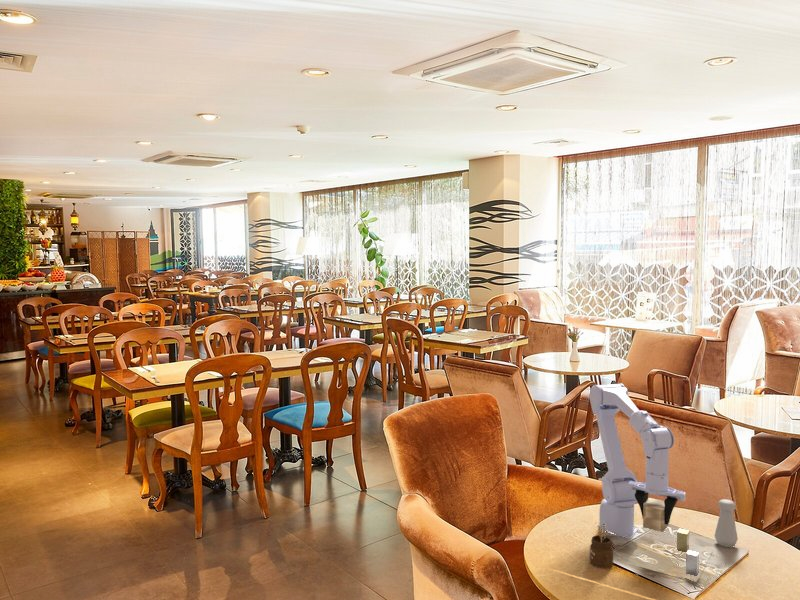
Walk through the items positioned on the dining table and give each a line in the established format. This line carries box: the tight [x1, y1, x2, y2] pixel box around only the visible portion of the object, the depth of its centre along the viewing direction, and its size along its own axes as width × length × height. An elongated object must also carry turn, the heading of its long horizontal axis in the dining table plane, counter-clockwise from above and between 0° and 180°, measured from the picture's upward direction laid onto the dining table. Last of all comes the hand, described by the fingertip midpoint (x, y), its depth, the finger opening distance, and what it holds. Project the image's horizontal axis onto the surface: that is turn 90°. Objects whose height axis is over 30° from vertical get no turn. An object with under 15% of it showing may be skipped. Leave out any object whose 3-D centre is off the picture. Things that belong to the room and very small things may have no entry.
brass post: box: [676, 528, 690, 553], centre depth 179 cm, size 3×3×6 cm
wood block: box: [642, 497, 669, 533], centre depth 175 cm, size 5×5×7 cm
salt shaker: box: [714, 499, 739, 548], centre depth 182 cm, size 6×6×13 cm
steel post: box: [686, 550, 699, 576], centre depth 166 cm, size 3×3×6 cm
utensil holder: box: [589, 522, 614, 569], centre depth 172 cm, size 6×6×12 cm
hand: (655, 520), depth 175 cm, fingers closed on wood block, 5 cm apart
